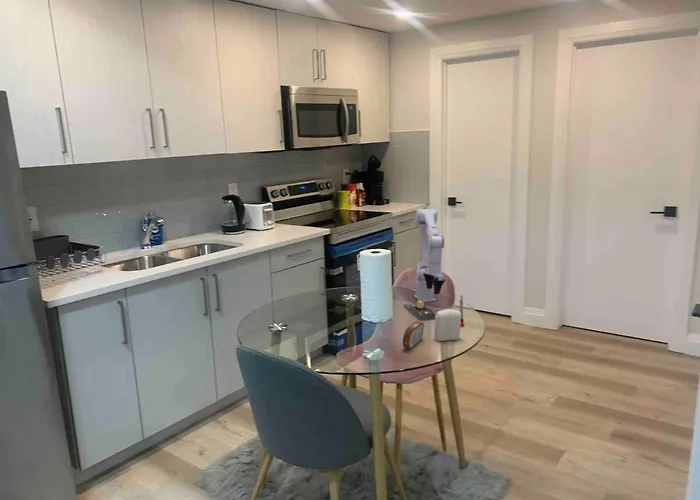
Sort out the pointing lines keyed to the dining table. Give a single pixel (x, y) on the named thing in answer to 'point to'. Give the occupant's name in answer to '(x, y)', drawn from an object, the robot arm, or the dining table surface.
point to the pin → (420, 304)
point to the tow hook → (461, 311)
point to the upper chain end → (423, 313)
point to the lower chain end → (409, 307)
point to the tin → (413, 334)
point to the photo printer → (447, 325)
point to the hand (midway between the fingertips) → (433, 291)
